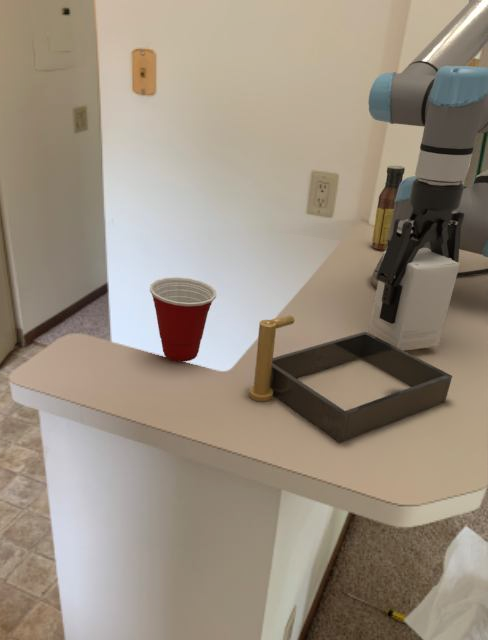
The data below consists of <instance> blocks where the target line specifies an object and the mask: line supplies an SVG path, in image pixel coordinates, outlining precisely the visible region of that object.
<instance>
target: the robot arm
mask: <svg viewBox="0 0 488 640" xmlns="http://www.w3.org/2000/svg"><path fill="white" fill-rule="evenodd" d="M487 45H488V0H468V3H467V4H466V5H465V6H464V7H463V8H462V9H461V10H460V11H459V13H458V14H456V15H455V16H454V18H452V19H451V21H450V22H449V23H448V24H447V25H446V26H445V27H444V28H443V29H442V30H441V31H440V32H439V33H438V34H437V35H436V36H434V38H433V39H432V40H431V41H430V42H429V43H428V45H426V47H424V48H423V49H422V51H421V52H420V53H418V55H417V56H416V57H415V58H414V59H413V60H412V61H411V62H410V63H409V64H408V65H407V66H406V67H405V68H404V69H403V70H402V71H401V72H396V71H392V72H384V73H381V74H379V75H378V76H377V77H376V78H375V79H374V81H373V83H372V85H371V87H370V90H369V95H368V102H367V103H368V112H369V115H370V116H371V118H372V119H374V120H376V121H379V122H384V123H389V124H391V125H403V126H405V125H406V126H412V127H413V126H415V127H423V132H422V138H421V141H420V146H419V148H420V149H419V153H418V156H417V163H416V167H415V170H414V171H415V172H414V175H413V176H409V177H406V178H404V179H402V182H401V183H400V185H399V188H398V192H397V196H396V199H395V201H394V202H395V205H394V210H393V215H392V221H391V226H390V232H389V237H388V243H387V247H386V250H385V251H386V253H385V255H384V258H383V254H382V255H381V257H380V258H379V261H378V262H377V264H376V266H375V268H374V269H373V272H372V275H371V281H370V282H371V285H372V286H373V287H374V288H375V289H377V286H378V281H381V282H383V283H384V284H385V285H384V291H383V296H382V307H381V312H380V317H379V318H380V319H382V320H384V321H387V322H389V323H391V324H393V323H395V319H396V314H397V309H398V305H399V300H400V296H401V291H402V286H401V285H399V284H400V282H401V280H402V278H403V277H404V275H405V271H406V267H407V264H408V263H411V262H412V261H413V259H414V257H415V256H416V254H417V252H418V250H419V249H422V248H429V249H430V250H431V252H434V253H437V254H439V255H442V256H445V257H447V258H449V259H451V260H453V261H455V262H457V263H459V260H460V251H463V252H469V253H473V254H477V255H482V256H483V257H484V258H488V169H486V170H485V171H483V172H481V173H479V174H477V175H476V177H475V178H474V181H473V183H472V186H464V184H463V182H465V181H466V180H467V178H468V174H469V171H470V166H471V161H472V158H473V152H474V147H475V145H476V140H477V136H478V134H487V133H488V67H485V66H471V65H470V64H471V62H472V61H474V59H475V58H476V57H477V56H478V55H479V54H480V53H481V51H482V50H483V49H484V48H485V47H486V46H487ZM382 259H383V261H382ZM486 273H488V268H482V269H477V270H470V271H461V272H459V271H458V273H457V277H465V276H472V275H479V274H486ZM394 277H395V278H394Z"/></svg>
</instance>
